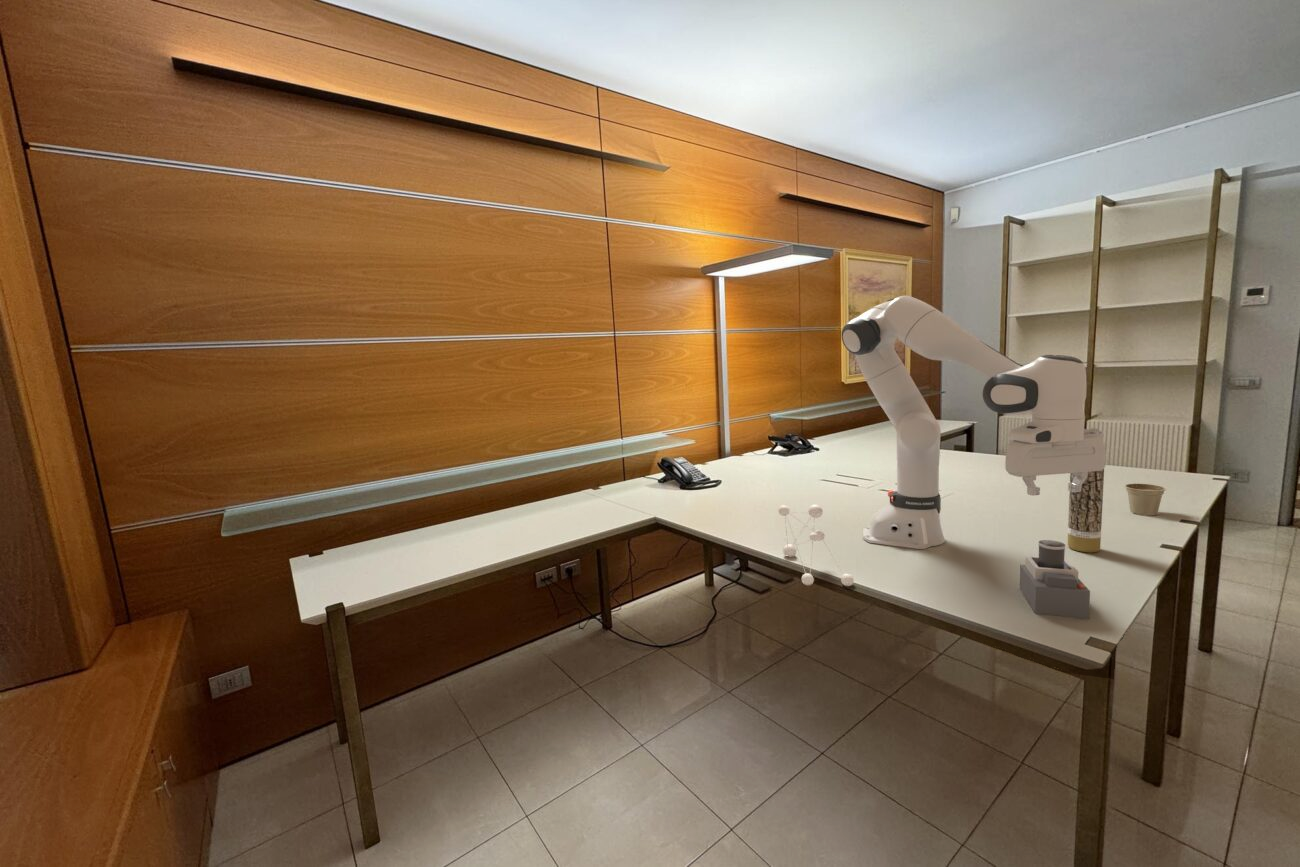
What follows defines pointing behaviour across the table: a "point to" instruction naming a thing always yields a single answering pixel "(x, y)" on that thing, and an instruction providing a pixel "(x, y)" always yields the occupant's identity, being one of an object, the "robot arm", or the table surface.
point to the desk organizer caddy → (1054, 589)
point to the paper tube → (1086, 514)
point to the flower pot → (1144, 498)
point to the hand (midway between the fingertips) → (1053, 493)
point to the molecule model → (817, 535)
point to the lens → (1051, 554)
